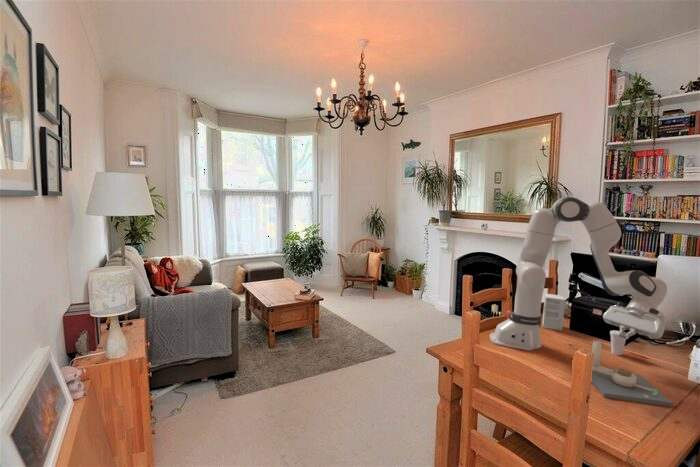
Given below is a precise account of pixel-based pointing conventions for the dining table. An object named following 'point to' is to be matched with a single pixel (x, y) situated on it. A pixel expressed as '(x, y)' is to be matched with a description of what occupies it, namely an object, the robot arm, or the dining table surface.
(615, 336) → the smoothie
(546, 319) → the supplement box
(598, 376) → the dial plate
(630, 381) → the dial rotor
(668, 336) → the dining table surface
